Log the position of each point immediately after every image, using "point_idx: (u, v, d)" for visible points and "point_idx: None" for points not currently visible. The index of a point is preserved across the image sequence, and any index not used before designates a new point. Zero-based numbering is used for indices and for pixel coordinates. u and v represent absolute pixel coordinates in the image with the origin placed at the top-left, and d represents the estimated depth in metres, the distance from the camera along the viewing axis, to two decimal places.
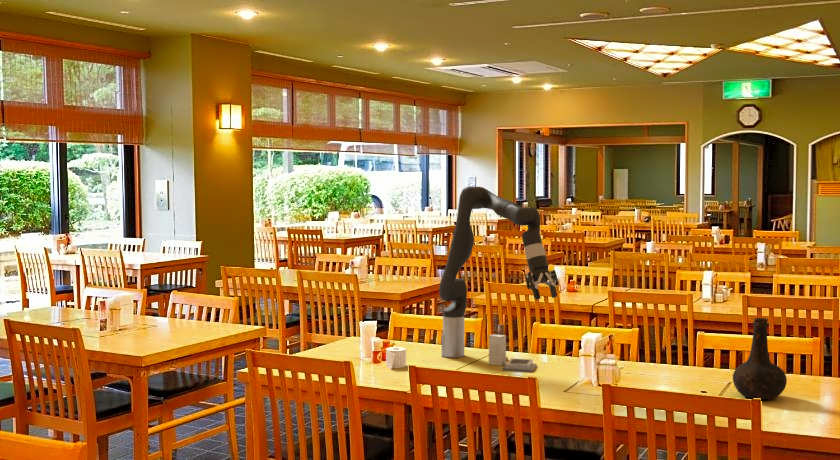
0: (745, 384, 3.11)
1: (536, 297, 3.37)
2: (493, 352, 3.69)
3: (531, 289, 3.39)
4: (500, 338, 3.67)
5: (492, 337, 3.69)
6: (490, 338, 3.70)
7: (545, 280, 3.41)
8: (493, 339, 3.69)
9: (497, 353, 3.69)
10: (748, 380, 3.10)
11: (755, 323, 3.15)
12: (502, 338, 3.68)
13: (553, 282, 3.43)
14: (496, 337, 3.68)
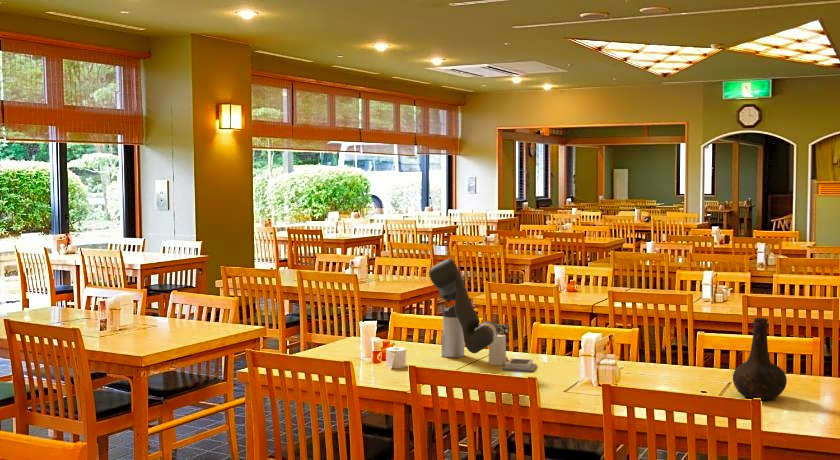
0: (745, 384, 3.11)
1: None
2: (493, 352, 3.69)
3: (478, 324, 3.56)
4: (500, 338, 3.67)
5: None
6: None
7: None
8: None
9: (497, 353, 3.69)
10: (748, 380, 3.10)
11: (755, 323, 3.15)
12: (502, 338, 3.68)
13: None
14: (496, 337, 3.68)
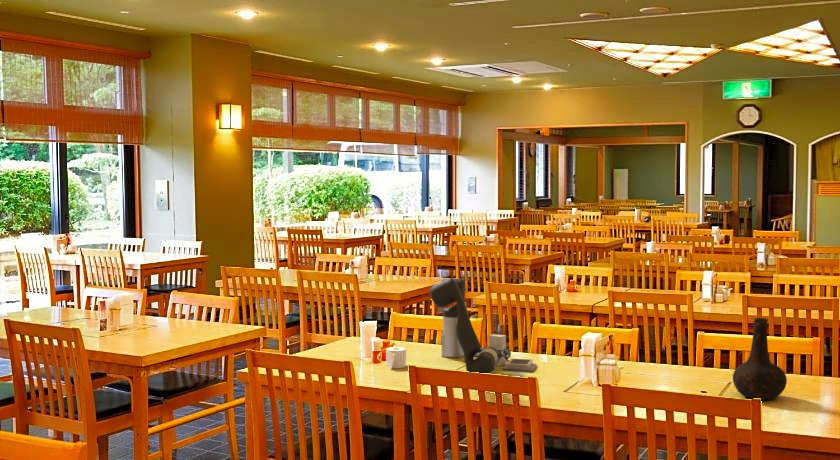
0: (745, 384, 3.11)
1: None
2: None
3: (480, 348, 3.62)
4: (500, 338, 3.67)
5: (492, 337, 3.69)
6: (490, 338, 3.70)
7: None
8: (493, 339, 3.69)
9: None
10: (748, 380, 3.10)
11: (755, 323, 3.15)
12: (502, 338, 3.68)
13: None
14: (496, 337, 3.68)
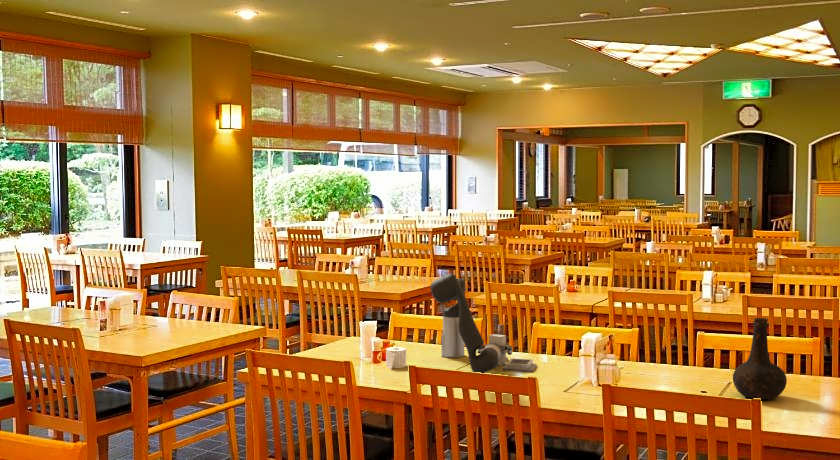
0: (745, 384, 3.11)
1: None
2: None
3: None
4: (500, 338, 3.67)
5: (492, 337, 3.69)
6: (490, 338, 3.70)
7: None
8: (493, 339, 3.69)
9: None
10: (748, 380, 3.10)
11: (755, 323, 3.15)
12: (502, 338, 3.68)
13: None
14: (496, 337, 3.68)
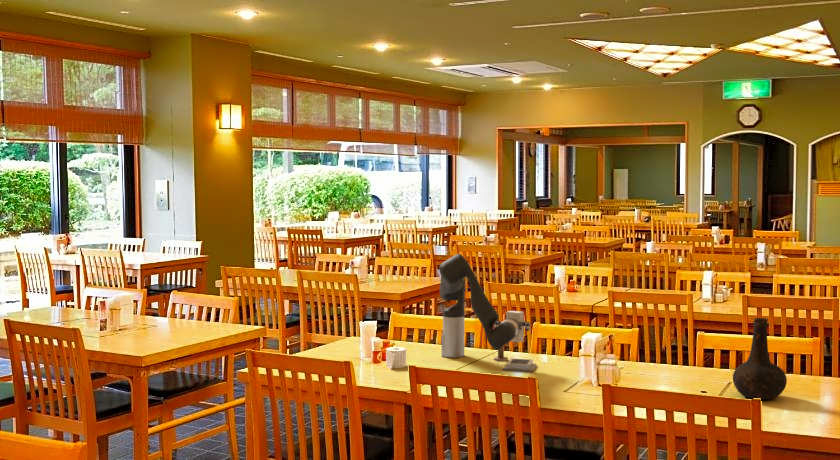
0: (745, 384, 3.11)
1: None
2: None
3: (502, 321, 3.63)
4: (518, 314, 3.60)
5: (509, 313, 3.62)
6: (507, 314, 3.63)
7: None
8: (510, 315, 3.62)
9: None
10: (748, 380, 3.10)
11: (755, 323, 3.15)
12: (520, 314, 3.61)
13: (523, 328, 3.59)
14: (514, 313, 3.61)
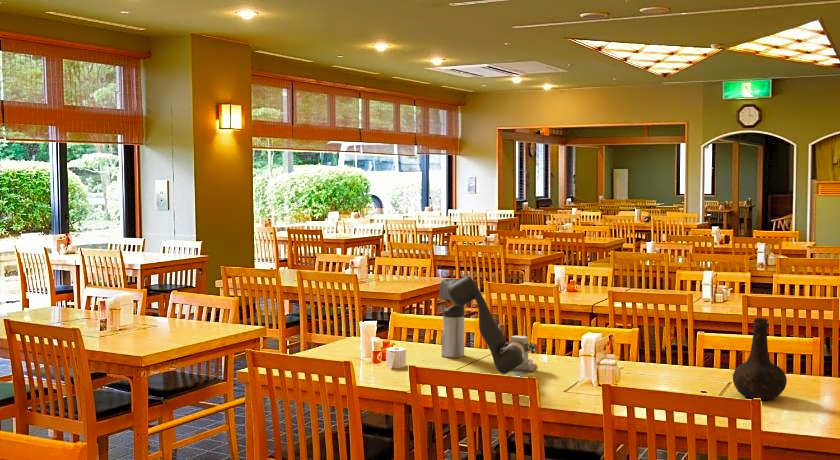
0: (745, 384, 3.11)
1: None
2: None
3: None
4: (522, 339, 3.60)
5: (514, 338, 3.62)
6: (512, 339, 3.63)
7: None
8: (515, 340, 3.62)
9: None
10: (748, 380, 3.10)
11: (755, 323, 3.15)
12: (524, 339, 3.60)
13: (529, 350, 3.59)
14: (518, 338, 3.61)
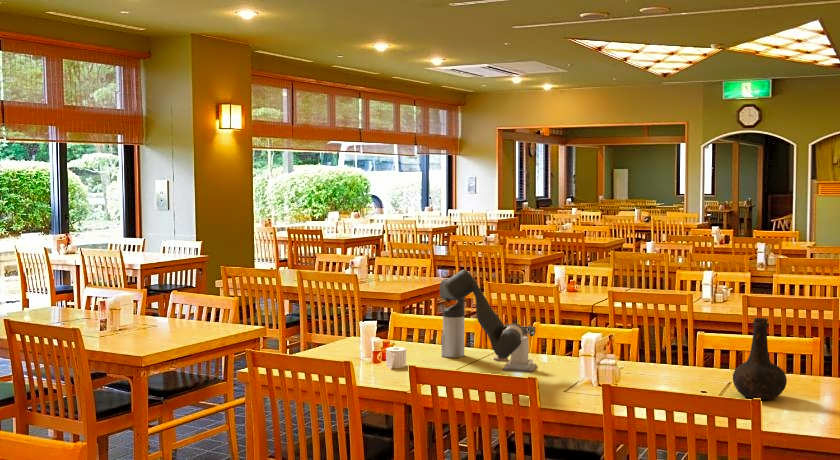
0: (745, 384, 3.11)
1: None
2: (516, 353, 3.62)
3: (504, 325, 3.55)
4: (523, 339, 3.60)
5: None
6: None
7: None
8: None
9: (519, 354, 3.61)
10: (748, 380, 3.10)
11: (755, 323, 3.15)
12: (525, 339, 3.60)
13: None
14: None
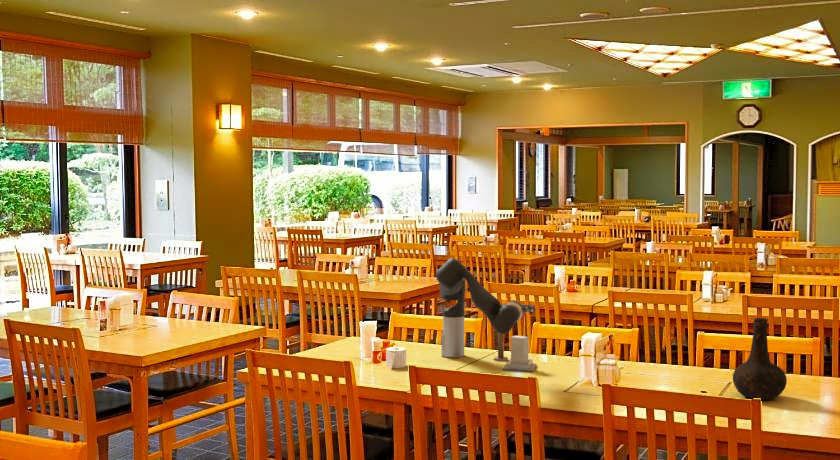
0: (745, 384, 3.11)
1: None
2: (516, 353, 3.62)
3: (503, 304, 3.54)
4: (522, 339, 3.60)
5: (514, 338, 3.62)
6: (512, 339, 3.62)
7: None
8: (515, 340, 3.62)
9: (519, 354, 3.61)
10: (748, 380, 3.10)
11: (755, 323, 3.15)
12: (525, 339, 3.60)
13: (527, 311, 3.50)
14: (518, 338, 3.61)
